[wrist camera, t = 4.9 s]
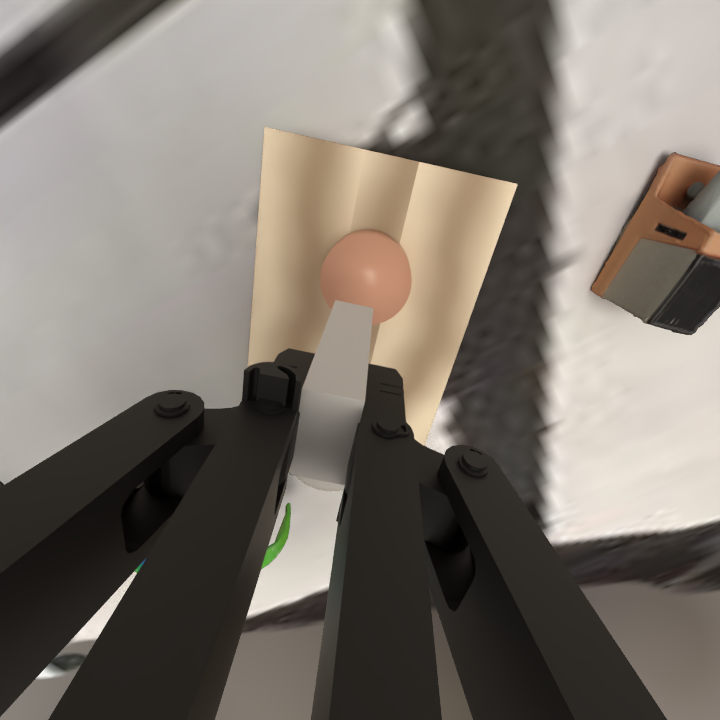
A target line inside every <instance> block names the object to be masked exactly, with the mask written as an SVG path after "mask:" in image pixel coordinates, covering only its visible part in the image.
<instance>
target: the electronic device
mask: <svg viewBox="0 0 720 720" xmlns="http://www.w3.org/2000/svg"><path fill="white" fill-rule="evenodd" d="M614 248H615V249H614V250H613V252H612V254H611V256H610V257H609V259H608V261H607V262H606V263H605V266H604V268H603V269H602V271H601V273H600V274H599V276H598V278H597V280H596V281H595V283H594V284H593V285H592V289H591V290H592V291H593V292H594V293H595V294H597V295H598V296H600V297H601V298H603V299H607V300H609V301H611V302H613V303H614V304H616V305H618V306H620V307H621V308H623V309H624V310H626V311H628V312H630V313H631V314H633V316H634V317H638V318H640V319H641V320H642V321H643V323H646V324H651V325H653V326H656V327H660V328H664V329H667V330H671V331H672V332H675V333H681V334H685V335H692V334H694V333H695V332H696V331H697V329H698V328H699V327H700V326H702V325H703V324H704V322H706V321H707V319H708V318H709V317H710V316H711V315H712V314H713V312H715V311H716V310H717V309H718V308H719V307H720V166H719V165H715V164H711V163H708V162H705V161H700V160H697V159H693V158H690V157H686V156H683V155H679V154H677V153H676V152H674V153H672V154H670V155H669V156H668V158H667V159H666V162H665V163H663V164H662V165H661V166H660V167H659V168H658V170H657V175H656V177H655V178H654V180H653V182H652V185H651V187H650V189H649V190H648V192H647V194H646V196H645V198H644V199H643V201H642V202H641V204H640V206H639V208H638V210H637V211H636V213H635V214H634V216H633V217H632V218H631V220H628V222H627V223H626V225H625V226H624V229H623V231H622V233H621V234H620V236H619V238H618V240H617V242H616V244H615V247H614Z"/></svg>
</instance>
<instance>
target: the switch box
mask: <svg viewBox="0 0 720 720" xmlns="http://www.w3.org/2000/svg"><path fill="white" fill-rule="evenodd" d="M516 187H517V184H515V183H510V182H506V181H501V180H497V179H493V178H488V177H484V176H479V175H475V174H470V173H466V172H462V171H457V170H453V169H448V168H444V167H439V166H435V165H431V164H426V163H422V162H417V161H413V160H408V159H404V158H400V157H395V156H391V155H386V154H382V153H377V152H373V151H369V150H364V149H360V148H355V147H351V146H346V145H342V144H337V143H333V142H329V141H324V140H320V139H315V138H311V137H306V136H302V135H298V134H293V133H289V132H284V131H280V130H275V129H271V128H267V127H265V128H264V143H263V157H262V171H261V185H260V199H259V213H258V228H257V242H256V256H255V270H254V284H253V299H252V313H251V327H250V341H249V355H248V367H249V366H250V365H253V364H256V363H260V362H274V360H275V359H276V357H277V355H278V354H279V353H281V352H283V351H284V350H286V349H288V348H290V349H295V350H300V351H305V352H310V353H316V350H317V348H318V345H319V342H320V340H321V337H322V334H323V332H324V329H325V326H326V324H327V321H328V318H329V316H330V313H331V311H332V310H331V308H330V307H329V306H328V304H327V303H326V301H325V299H324V297H323V294H322V291H321V286H320V273H321V268H322V265H323V262H324V260H325V258H326V256H327V255H328V254H329V252H330V251H331V249H332V248H333V246H334V245H335V244H336V243H337V242H338V241H339V240H340V239H341V238H342V237H344V236H345V235H347V234H349V233H351V232H354V231H358V230H364V229H371V230H377V231H381V232H383V233H386V234H388V235H389V236H391V237H393V238H394V239H395V240H396V241H397V242H398V243H399V244H400V245H401V246H402V248H403V249H404V251H405V253H406V255H407V257H408V260H409V265H410V270H411V277H412V284H411V291H410V294H409V297H408V300H407V302H406V303H405V305H404V306H403V308H402V309H401V310H400V311H399V312H398V313H397V314H396V315H395V316H394V317H392V318H391V319H389V320H387V321H385V322H382V323H379V324H375V325H372V330H371V341H370V352H369V364H374V365H379V366H383V367H388V368H393V369H396V370H397V371H398V373H399V374H400V375H401V377H402V378H403V389H404V401H405V414H406V422H407V423H408V424H409V425H410V427H411V428H412V430H413V433H414V439H415V440H416V441H418V442H419V443H421V444H422V445H425V442H426V440H427V437H428V434H429V431H430V428H431V426H432V423H433V420H434V417H435V414H436V412H437V409H438V406H439V403H440V400H441V397H442V395H443V392H444V389H445V386H446V383H447V381H448V378H449V375H450V372H451V369H452V367H453V364H454V361H455V358H456V355H457V353H458V350H459V347H460V344H461V341H462V339H463V336H464V333H465V330H466V327H467V325H468V322H469V319H470V316H471V313H472V311H473V308H474V305H475V302H476V299H477V297H478V294H479V291H480V288H481V285H482V282H483V280H484V277H485V274H486V271H487V268H488V266H489V263H490V260H491V257H492V254H493V252H494V249H495V246H496V243H497V240H498V238H499V235H500V232H501V229H502V226H503V224H504V221H505V218H506V215H507V212H508V210H509V207H510V204H511V201H512V198H513V196H514V193H515V190H516ZM289 471H290V469H289Z"/></svg>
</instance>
